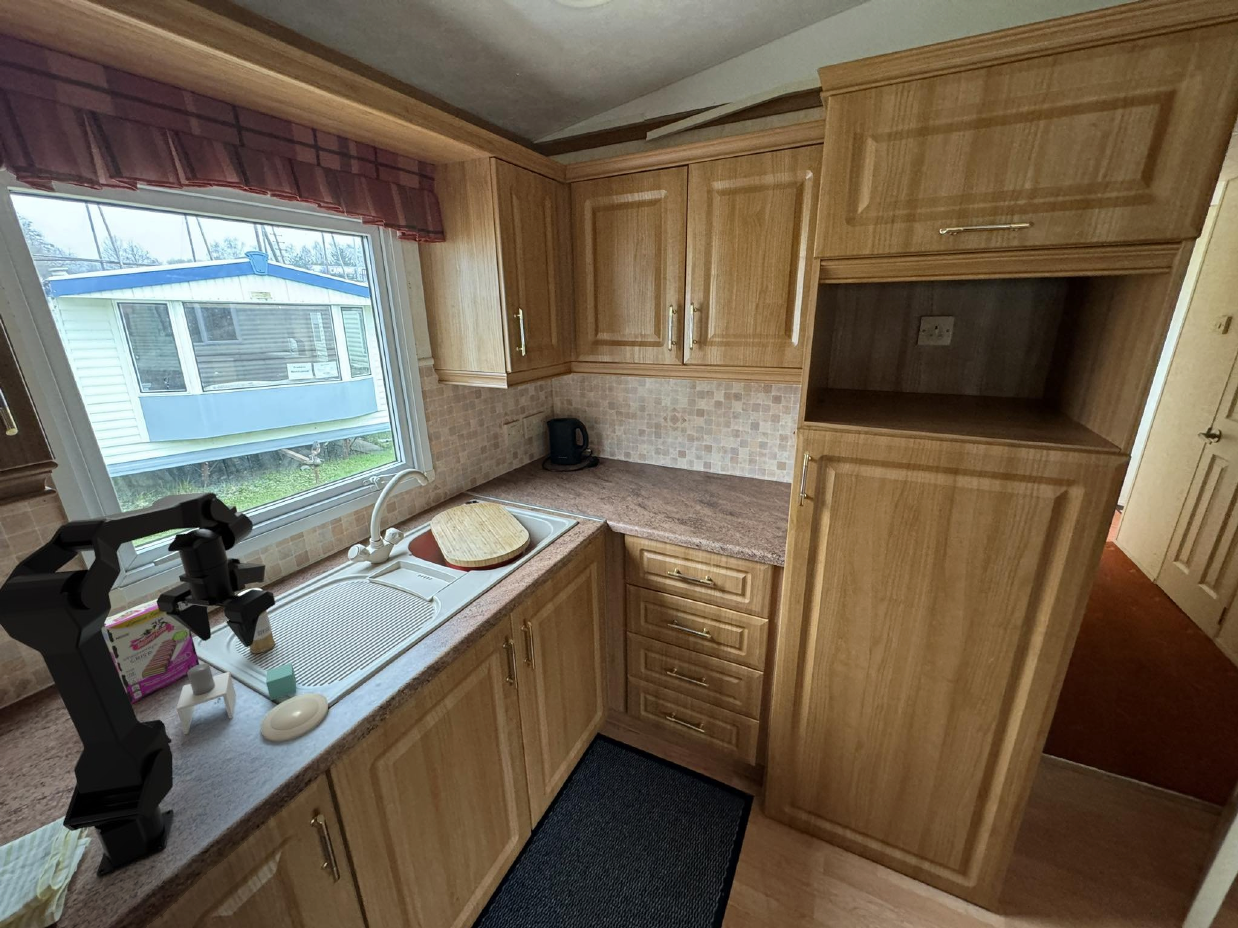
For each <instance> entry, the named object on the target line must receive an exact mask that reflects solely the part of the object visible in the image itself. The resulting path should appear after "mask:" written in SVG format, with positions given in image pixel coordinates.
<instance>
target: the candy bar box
mask: <svg viewBox="0 0 1238 928" xmlns="http://www.w3.org/2000/svg"><path fill="white" fill-rule="evenodd" d="M158 598H159V597H157V598H154V599H152V600H149V601H147V602H144V603H141V604H139V605H136V606H134V607H131V608H128V609H126V610H122V611H120V612H117V613H114V614H111V615H108V616H107V618H106V621H105V623H104V625H103V627H102V634H103V636H104V639H105V641H106V644H107V646H108V649H109V651H110V654H111V656H112V659H113V661H114V663H115V666H116V668H117V671H118V673H119V676H120V678H121V681H122V683H123V686H124V688H125V691H126V693H127V695H128V698H129V700H130V703H131V705H132V704H134V703H136V702H138V701H140V700H142V699H143V698H145V697H147V696H149V695H151V694H153V693H155V692H157V691H158V690H160V689H161V690H162V689H163V688H165V687H167V686H169V685H171V684H173V683H175V682H176V681H179V680H180V679H182V678H185V677H186V676H188V674H187V672H188V671H189V670H190V669H191V668H193V667H195V666H197V665H200V664H201V663H200V661H199V658H198V655H197V650H196V647H195V643H194V640H193V639H194V638H193V635H192V631H190V630H189V629H188V628H186V627H185V626H184V625H182V624H181V623H179V622H178V621H177V620H175V619H174V618H172V617H171V616H168V615H167V614H166V612H163V611H159V608H158V605H157V602H156V601H157V600H158Z"/></svg>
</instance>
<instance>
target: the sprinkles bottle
mask: <svg viewBox="0 0 1238 928" xmlns="http://www.w3.org/2000/svg"><path fill="white" fill-rule="evenodd" d="M251 589H253V590H261V591H263V589H261V588H258V587H253V588H249V589H244V591H243V590H242V591H240V593H238V594H237V595H238V596H241V595H243V594H244V593H246V592H248V591H250V590H251ZM275 645H276V640H275V639H274V636H273V632H272V625H271V622H270V617H269V615H268V610H266V611H264V612H263V613H261V615H260V616H259V619H258V622H257V625H256V630H255V635H254V640H253V644H252V645H251V646H249V651H250V653H252V654H260V653H264V652H267V651H269V650H270V649H272V648H273V647H274V646H275Z"/></svg>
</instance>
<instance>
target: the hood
mask: <svg viewBox="0 0 1238 928" xmlns="http://www.w3.org/2000/svg"><path fill="white" fill-rule="evenodd" d="M199 664H200V665H197V666H195V667H193V668H191V669H190V670H189V671H188V672H187V674H188V675H187V677H188V680H189V683H188V684H184V685H182V689H181V692H180V695H179V699H178V702H177V706H176V712H177V716H178V718H179V721H180V724H181V727H182V731H183V734H184V735H186V734H189V733H190V728H191V725H192V720H193V717H194V712H195V706H197V705H201V704H204V703H207V702H210V701H213V700H216V699H219V698H223V702H224V704H225V708H226V711H227V716H228V718H229V719H232V718H234V713H235V712H234V711H235V706H236V699H237V693H236V690H235V685H234V683H233V678H232V676H231V672H230V671H227V672H224V673H221V674H218V675H214V676H213V672H212V669H211V666H210V664H209V663H199Z"/></svg>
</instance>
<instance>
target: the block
mask: <svg viewBox="0 0 1238 928" xmlns="http://www.w3.org/2000/svg"><path fill="white" fill-rule="evenodd" d="M293 665H294V664H293V662H290V663H286V664H283V665H280V666H277V667H273V668H271V669H270V668H269V669H267V670H266V680H265V682H266V683H265V684H266V687H267V691H268V695H269V699H270V701H273V700H275V699H278V698H282V697H285V696H288V695H291V694H293V693H296V692H297V678H296V674H295V670H294V666H293Z"/></svg>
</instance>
